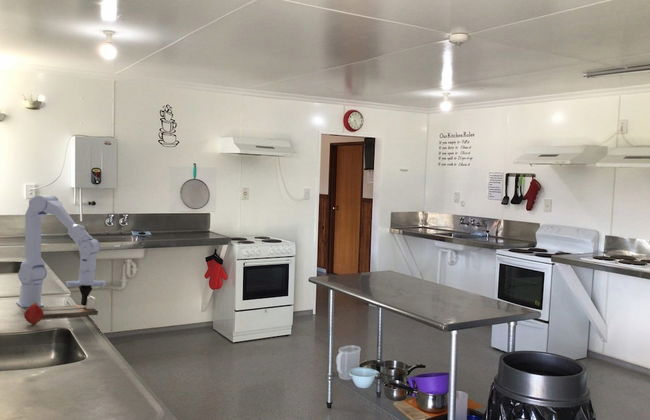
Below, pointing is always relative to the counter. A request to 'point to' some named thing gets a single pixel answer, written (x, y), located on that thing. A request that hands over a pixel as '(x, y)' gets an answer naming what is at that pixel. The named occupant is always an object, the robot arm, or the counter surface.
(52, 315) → the fader console
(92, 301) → the fader knob
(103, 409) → the counter surface
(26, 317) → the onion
